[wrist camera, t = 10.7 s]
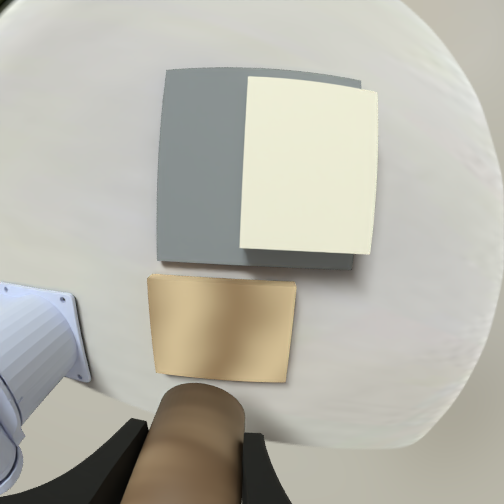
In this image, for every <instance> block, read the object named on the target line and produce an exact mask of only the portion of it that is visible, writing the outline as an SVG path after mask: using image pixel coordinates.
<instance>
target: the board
mask: <svg viewBox="0 0 504 504" xmlns="http://www.w3.org/2000/svg"><path fill="white" fill-rule="evenodd" d="M147 285H148V301H149V313H150V325H151V335H152V345H153V353H154V361H155V369H156V373H162V374H169V375H177V376H186V377H195V378H206V379H218V380H232V381H251V382H285V381H286V374H287V366H288V359H289V351H290V342H291V334H292V325H293V316H294V307H295V297H296V285H295V282H289V281H266V280H245V279H226V278H208V277H191V276H176V275H161V274H152V275H150V276H149V277H148V278H147Z"/></svg>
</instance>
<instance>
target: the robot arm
mask: <svg viewBox="0 0 504 504" xmlns="http://www.w3.org/2000/svg"><path fill="white" fill-rule="evenodd" d="M63 297H64V299H65V301H64V300H63ZM80 375H81V376H82V377H81V376H80ZM63 377H68V378H71V379H75V380H78V381H82V382H86V383H88V382H89V381H90V380H91V375H90V371H89V367H88V363H87V359H86V355H85V351H84V346H83V341H82V337H81V332H80V326H79V321H78V315H77V309H76V303H75V298H74V296H73V295H72V294H70V293H65V292H59V291H52V290H46V289H40V288H33V287H28V286H22V285H16V284H11V283H5V282H0V495H1V494H3V493H4V492H6V491H8V490H9V489H10V488H11V487H12V486H13V485H14V484H15V482H16V481H17V479H18V478H19V476H20V474H21V471H22V467H23V455H22V451H21V449H20V447H19V446H18V445H19V444H20V443H21V441H22V440H23V439H24V437H25V434H24V433H23V431H22V429H21V426H22V425H23V424H24V422H25V421H26V420H27V419H28V417H29V416H30V415H31V414H32V413H33V412H34V410H35V409H36V408H37V407H38V406H39V405H40V403H41V402H42V401H43V400H44V399H45V398H46V396H47V395H48V394H49V393H50V392H51V390H52V389H53V388H54V387H55V386H56V385H57V384H58V383H59V382H60V380H61V379H62V378H63ZM148 432H149V430H148V427H147V422H146V421H144V420H138V419H134V418H131V419H130V420H129V421H128V422H127V423H126V424H125V425H124V426H123V427H121V428H120V430H118V431H117V432H116V433H115V434H114V435H113V436H112V437H111V438H110V439H109V440H108V441H107V442H106V443H105V444H103V445H102V446H101V447H100V448H99V449H98V450H97V451H95V452H94V453H93V454H92V455H90V456H89V457H88V458H86V459H85V460H84V461H83V462H81V463H80V464H79V465H77V466H76V467H74V468H73V469H71V470H70V471H68V472H66V473H65V474H63V475H61V476H59V477H57V478H56V479H54V480H52V481H50V482H48V483H45V484H43V485H41V486H38V487H36V488H33V489H30V490H27V491H24V492H21V493H17V494H13V495H8V496H3V497H0V504H120V503H121V501H122V498H123V495H124V493H125V490H126V487H127V485H128V482H129V480H130V477H131V474H132V472H133V469H134V467H135V464H136V462H137V459H138V457H139V454H140V452H141V449H142V447H143V444H144V442H145V439H146V437H147V434H148ZM242 470H243V480H242V504H292V503H291V501H290V500H289V498H288V496H287V495H286V493H285V491H284V489H283V487H282V486H281V484H280V482H279V479H278V477H277V475H276V473H275V471H274V469H273V466H272V464H271V461H270V458H269V456H268V452H267V450H266V446H265V441H264V435H262V434H261V433H244V437H243V458H242Z"/></svg>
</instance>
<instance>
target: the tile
mask: <svg viewBox="0 0 504 504" xmlns="http://www.w3.org/2000/svg"><path fill="white" fill-rule="evenodd" d="M377 160H378V96H377V92H374V91H369V90H364V89H359V88H353V87H348V86H342V85H336V84H329V83H322V82H314V81H306V80H296V79H286V78H272V77H253V76H248V85H247V102H246V120H245V139H244V159H243V179H242V201H241V224H240V248H250V249H270V250H291V251H310V252H330V253H350V254H369V255H370V250H371V241H372V232H373V222H374V211H375V198H376V183H377Z"/></svg>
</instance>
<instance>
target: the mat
mask: <svg viewBox="0 0 504 504" xmlns="http://www.w3.org/2000/svg"><path fill="white" fill-rule="evenodd" d="M248 76H253V77H272V78H286V79H296V80H306V81H314V82H322V83H329V84H336V85H342V86H348V87H353V88H359V89H361V81H360V80H355V79H350V78H344V77H338V76H332V75H325V74H318V73H310V72H302V71H292V70H280V69H265V68H238V67H215V68H188V69H173V70H166V78H165V86H164V95H163V105H162V115H161V127H160V141H159V157H158V179H157V261H172V262H189V263H207V264H226V265H246V266H267V267H289V268H312V269H337V270H352V263H353V255H354V254H350V253H330V252H310V251H291V250H270V249H250V248H240V224H241V201H242V179H243V159H244V139H245V120H246V102H247V85H248Z"/></svg>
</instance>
